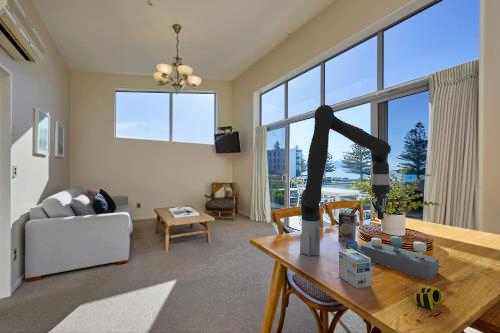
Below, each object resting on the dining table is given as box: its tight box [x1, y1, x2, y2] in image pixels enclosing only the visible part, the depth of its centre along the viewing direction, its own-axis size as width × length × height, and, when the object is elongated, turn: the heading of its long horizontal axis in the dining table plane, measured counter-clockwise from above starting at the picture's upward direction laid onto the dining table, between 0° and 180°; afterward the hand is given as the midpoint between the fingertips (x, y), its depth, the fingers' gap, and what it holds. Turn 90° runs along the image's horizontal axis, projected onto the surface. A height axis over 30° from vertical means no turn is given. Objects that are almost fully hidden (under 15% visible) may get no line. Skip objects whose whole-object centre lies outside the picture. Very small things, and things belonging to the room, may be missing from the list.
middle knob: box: [390, 235, 403, 253], centre depth 106 cm, size 4×4×8 cm
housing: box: [359, 240, 440, 281], centre depth 106 cm, size 11×28×6 cm, turn 36°
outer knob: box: [412, 241, 427, 260], centre depth 99 cm, size 4×4×8 cm
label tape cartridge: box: [345, 238, 365, 255], centre depth 103 cm, size 9×4×12 cm, turn 9°
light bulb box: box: [338, 248, 372, 289], centre depth 91 cm, size 11×7×11 cm, turn 17°
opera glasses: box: [413, 286, 443, 311], centre depth 77 cm, size 10×5×5 cm, turn 127°
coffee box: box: [337, 211, 357, 243], centre depth 139 cm, size 9×6×16 cm
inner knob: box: [370, 237, 383, 247], centre depth 114 cm, size 4×4×8 cm
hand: (380, 219), depth 112 cm, fingers closed
